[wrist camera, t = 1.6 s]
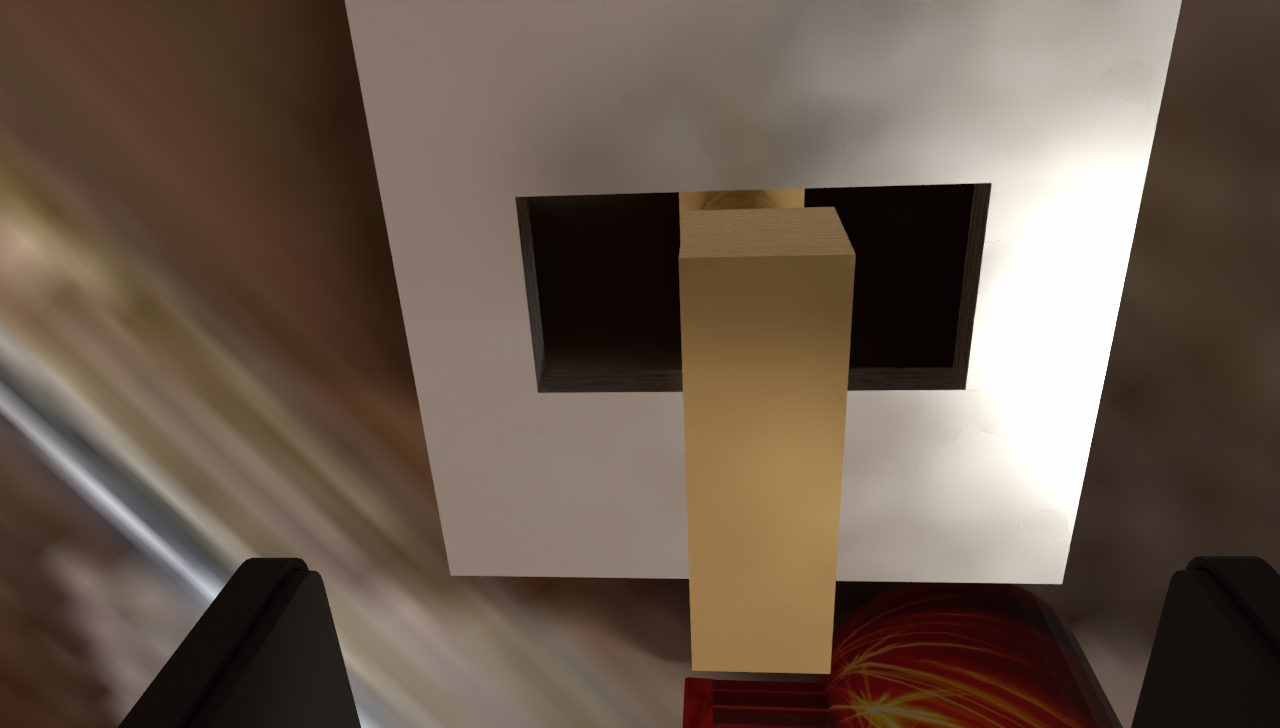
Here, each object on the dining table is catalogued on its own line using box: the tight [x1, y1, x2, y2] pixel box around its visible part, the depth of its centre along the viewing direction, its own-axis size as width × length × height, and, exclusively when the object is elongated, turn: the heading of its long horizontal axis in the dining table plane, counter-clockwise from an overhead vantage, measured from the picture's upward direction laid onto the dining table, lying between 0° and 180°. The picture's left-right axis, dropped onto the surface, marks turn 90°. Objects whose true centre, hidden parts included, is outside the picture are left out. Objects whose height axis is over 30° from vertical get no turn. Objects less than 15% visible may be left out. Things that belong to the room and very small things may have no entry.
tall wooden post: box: [679, 188, 856, 674], centre depth 19 cm, size 3×8×14 cm, turn 3°
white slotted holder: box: [345, 0, 1182, 584], centre depth 22 cm, size 16×16×7 cm
